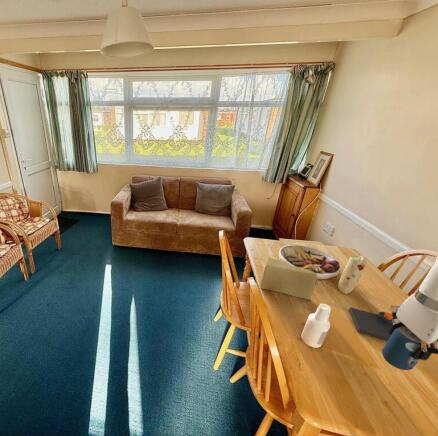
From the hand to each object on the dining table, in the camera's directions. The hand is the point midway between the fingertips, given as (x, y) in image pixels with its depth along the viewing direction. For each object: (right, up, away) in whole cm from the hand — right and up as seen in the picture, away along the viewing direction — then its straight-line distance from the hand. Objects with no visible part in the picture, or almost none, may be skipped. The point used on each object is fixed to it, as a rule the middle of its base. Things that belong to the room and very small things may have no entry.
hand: (406, 345), depth 67 cm
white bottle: (-11, -11, +24) cm, 28 cm away
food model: (+24, +1, +49) cm, 55 cm away
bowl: (+18, +10, +68) cm, 71 cm away
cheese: (-7, +1, +49) cm, 49 cm away
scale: (+19, -8, +29) cm, 36 cm away
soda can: (0, -7, +3) cm, 7 cm away
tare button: (+26, -5, +29) cm, 39 cm away
